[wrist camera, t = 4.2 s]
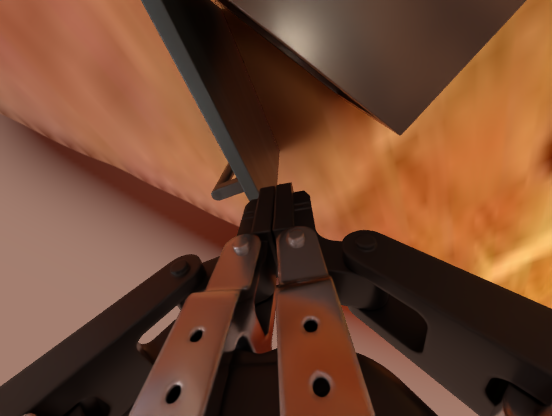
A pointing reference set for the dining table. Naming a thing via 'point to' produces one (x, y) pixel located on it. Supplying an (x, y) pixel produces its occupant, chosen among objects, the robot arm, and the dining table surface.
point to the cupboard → (379, 46)
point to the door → (219, 91)
